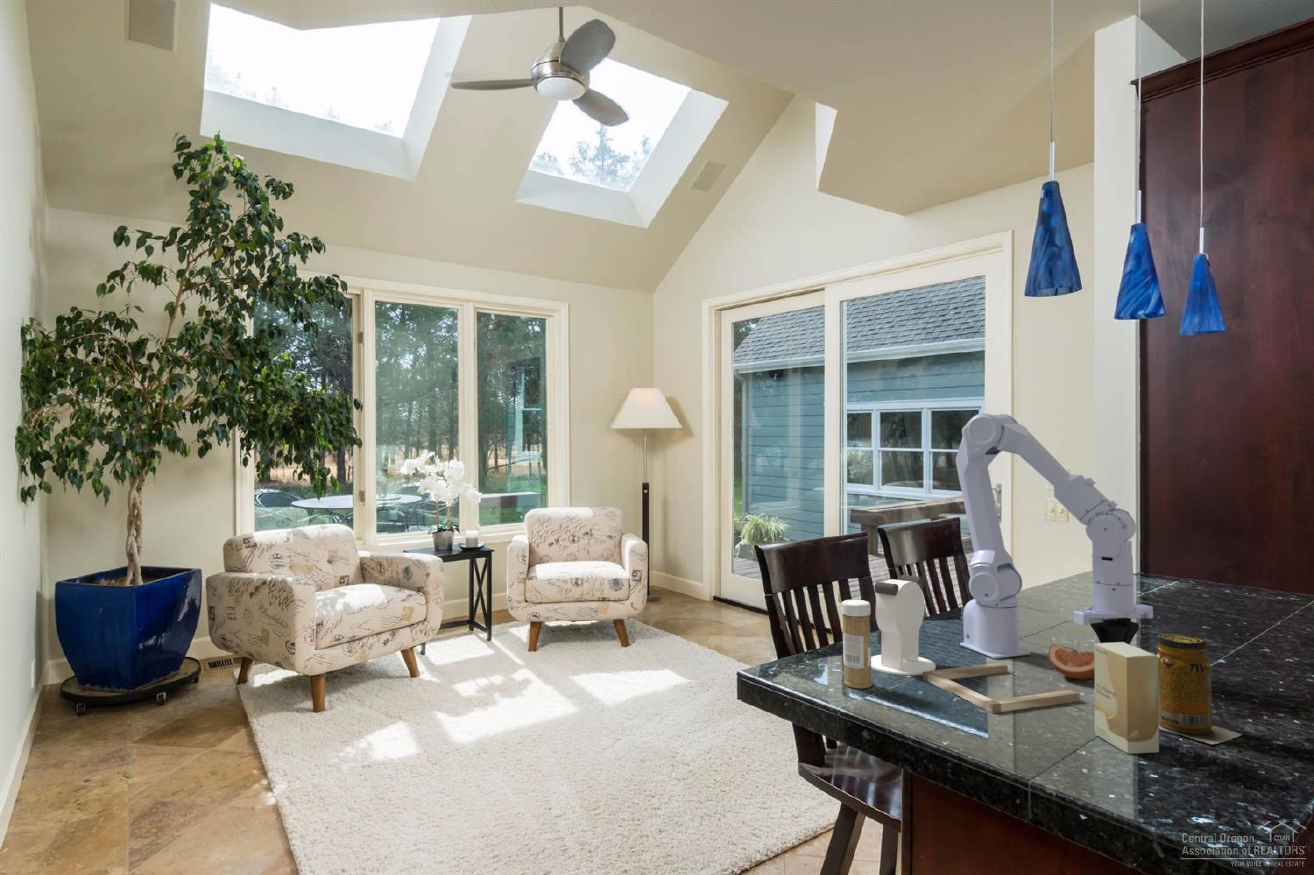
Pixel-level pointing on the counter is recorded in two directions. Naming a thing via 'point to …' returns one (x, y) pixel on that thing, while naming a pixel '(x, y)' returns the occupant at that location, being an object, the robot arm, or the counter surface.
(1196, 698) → the condiment
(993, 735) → the counter surface
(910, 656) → the white two-tone upright fixture
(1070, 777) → the counter surface
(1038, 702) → the frame
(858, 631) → the brown spice jar
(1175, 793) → the counter surface
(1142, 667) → the skincare box
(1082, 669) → the fruit slice
